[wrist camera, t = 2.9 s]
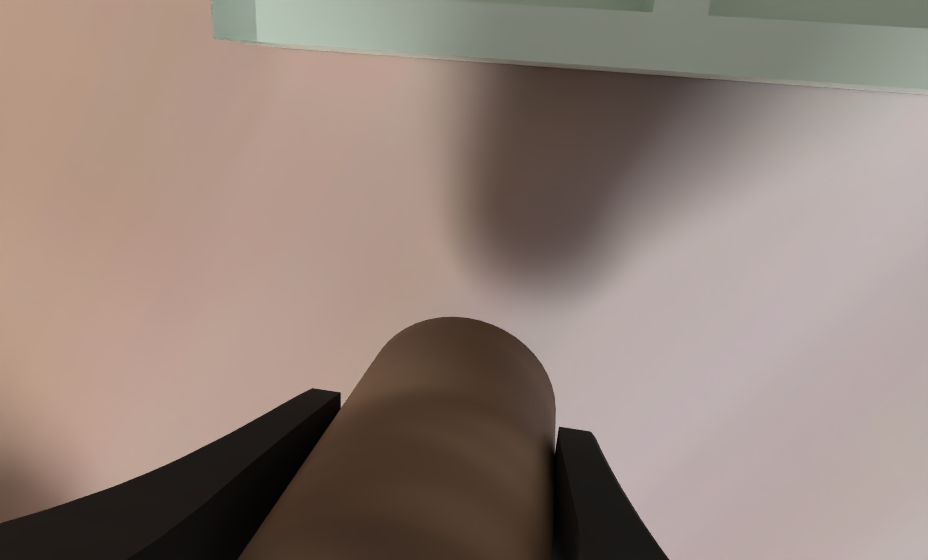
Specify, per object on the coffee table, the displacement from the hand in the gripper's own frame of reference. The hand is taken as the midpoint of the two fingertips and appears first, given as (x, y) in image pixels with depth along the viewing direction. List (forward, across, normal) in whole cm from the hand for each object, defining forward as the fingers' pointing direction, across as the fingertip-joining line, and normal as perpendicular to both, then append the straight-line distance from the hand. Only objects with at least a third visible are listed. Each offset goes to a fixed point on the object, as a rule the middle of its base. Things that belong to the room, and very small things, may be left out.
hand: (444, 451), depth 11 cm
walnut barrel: (+2, 0, 0) cm, 2 cm away
